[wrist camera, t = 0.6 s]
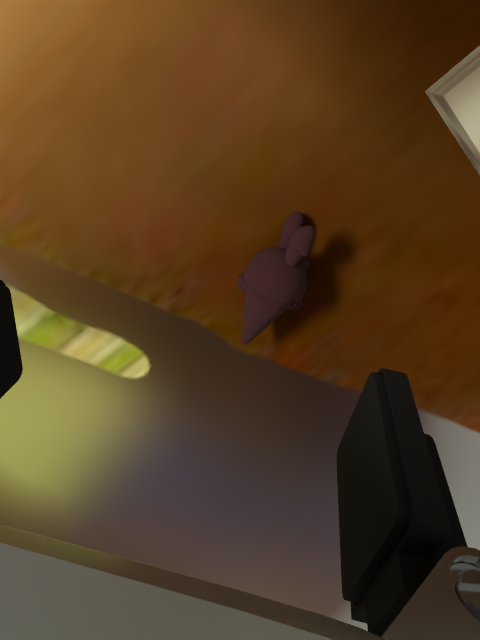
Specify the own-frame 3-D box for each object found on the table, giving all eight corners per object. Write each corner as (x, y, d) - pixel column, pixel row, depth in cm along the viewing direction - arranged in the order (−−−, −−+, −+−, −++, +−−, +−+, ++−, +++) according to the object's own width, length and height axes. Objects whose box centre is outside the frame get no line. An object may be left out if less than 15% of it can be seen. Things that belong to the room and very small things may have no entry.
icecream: (280, 371, 43) (352, 245, 36) (214, 355, 41) (277, 217, 34) (269, 334, 49) (328, 219, 42) (211, 318, 46) (263, 194, 39)
